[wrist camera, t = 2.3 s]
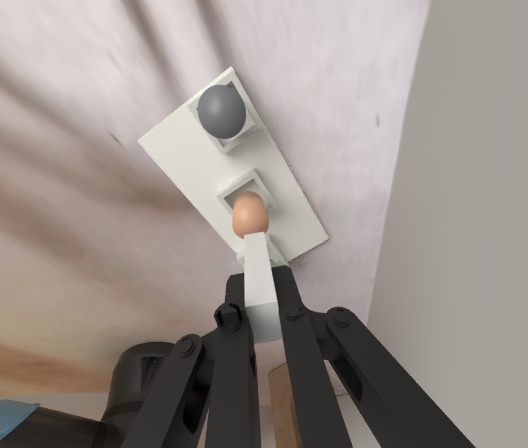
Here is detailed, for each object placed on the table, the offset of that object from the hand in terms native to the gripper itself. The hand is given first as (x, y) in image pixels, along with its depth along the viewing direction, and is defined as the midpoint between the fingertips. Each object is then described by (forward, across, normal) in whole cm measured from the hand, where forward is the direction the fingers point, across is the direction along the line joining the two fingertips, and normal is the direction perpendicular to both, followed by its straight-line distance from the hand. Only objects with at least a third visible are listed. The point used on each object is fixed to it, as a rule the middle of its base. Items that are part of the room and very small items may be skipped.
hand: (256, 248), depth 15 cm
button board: (+14, 0, 0) cm, 14 cm away
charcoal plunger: (+10, -1, +9) cm, 14 cm away
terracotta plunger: (+10, 0, 0) cm, 10 cm away
